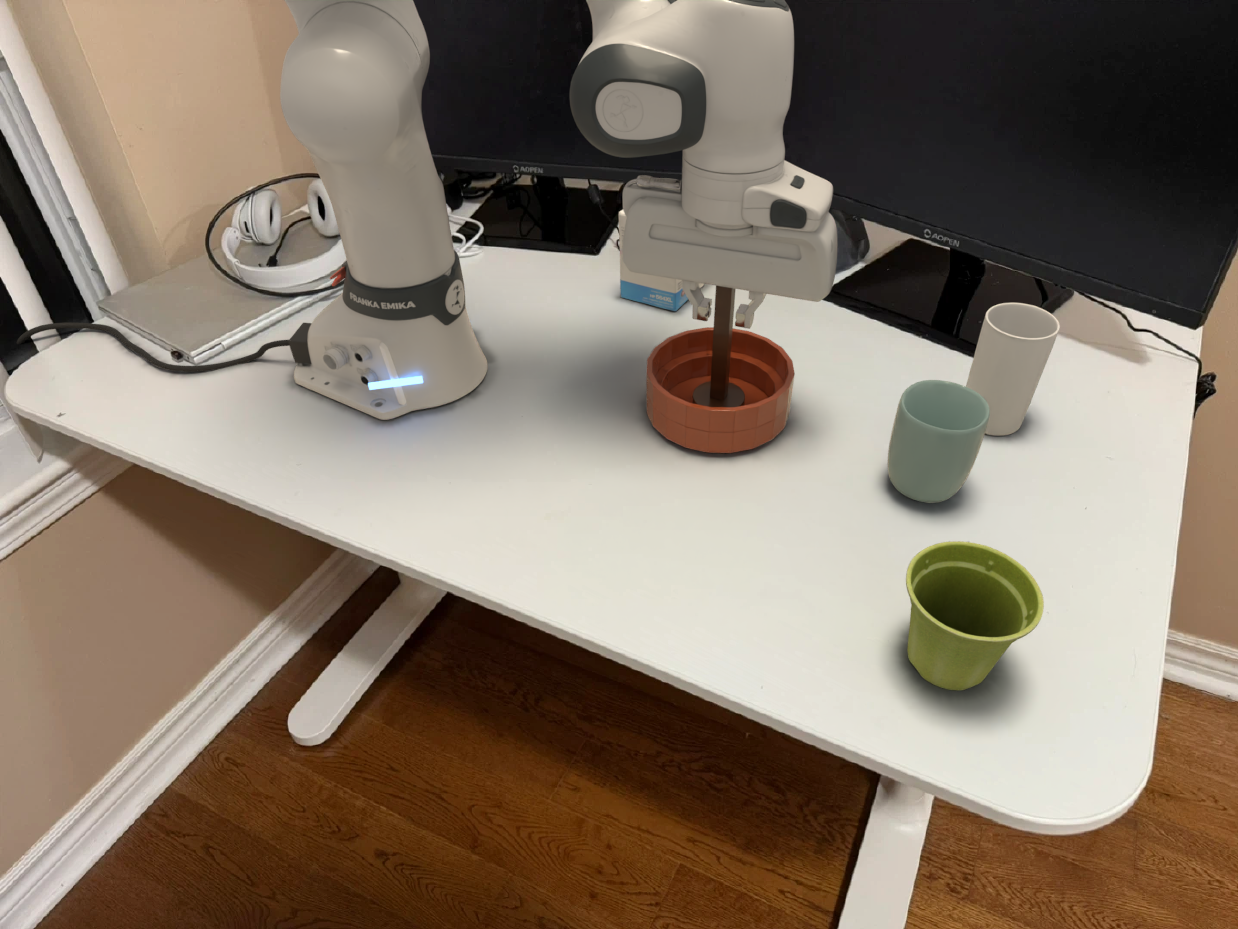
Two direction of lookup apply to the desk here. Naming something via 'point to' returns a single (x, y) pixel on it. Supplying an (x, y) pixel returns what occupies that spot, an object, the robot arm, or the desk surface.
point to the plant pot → (967, 611)
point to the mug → (1011, 361)
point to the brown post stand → (721, 357)
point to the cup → (936, 439)
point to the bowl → (689, 365)
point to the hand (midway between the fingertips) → (722, 321)
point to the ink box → (649, 283)
